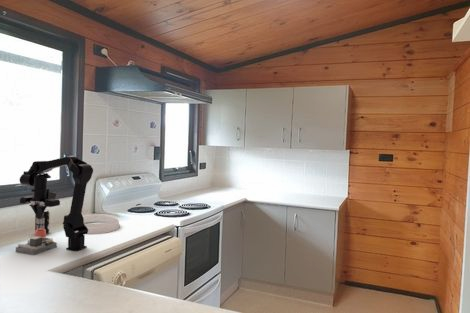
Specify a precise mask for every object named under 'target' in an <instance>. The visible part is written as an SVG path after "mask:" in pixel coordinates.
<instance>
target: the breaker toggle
mask: <svg viewBox="0 0 470 313" xmlns="http://www.w3.org/2000/svg"><path fill="white" fill-rule="evenodd" d="M29 240H30V246H35V247H36V246H39V245H42V238H41V237H38V236H36V237H35V236H32V237H31V238H30V239H29Z"/></svg>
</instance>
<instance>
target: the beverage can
mask: <svg viewBox="0 0 470 313" xmlns="http://www.w3.org/2000/svg"><path fill="white" fill-rule="evenodd" d="M49 211H50V210H49V209H45V211H44V213H43V215H42V218H41V219H38V218H37V216H36V214H35V213H34V214H35V217H34V218H35V221H34V224H35V225H34V228H35V229H34V231H35V230H37V229H40V228H43V229H45V230H46V234H48V233H49V232H50V212H49Z"/></svg>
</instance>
